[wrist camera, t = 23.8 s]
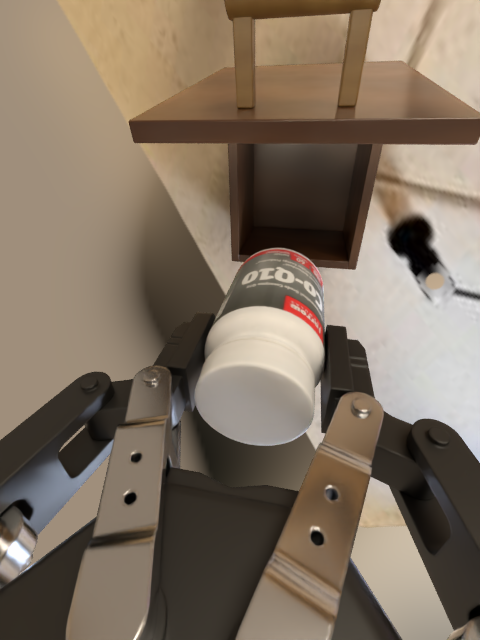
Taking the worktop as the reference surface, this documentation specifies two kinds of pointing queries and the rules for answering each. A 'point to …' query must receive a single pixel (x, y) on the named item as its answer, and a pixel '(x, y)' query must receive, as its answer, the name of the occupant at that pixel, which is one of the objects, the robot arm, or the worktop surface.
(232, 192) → the chest
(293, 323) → the pill bottle
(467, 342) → the worktop surface
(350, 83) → the lid
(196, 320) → the robot arm
